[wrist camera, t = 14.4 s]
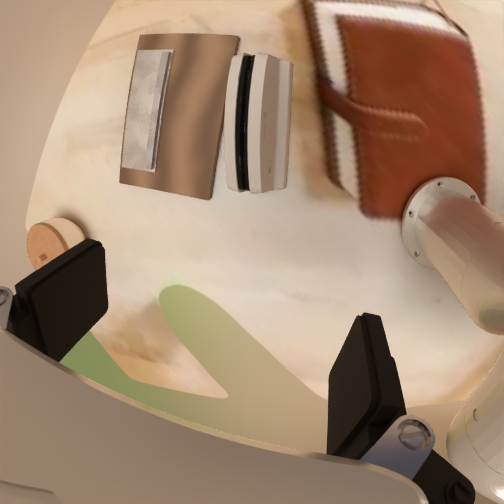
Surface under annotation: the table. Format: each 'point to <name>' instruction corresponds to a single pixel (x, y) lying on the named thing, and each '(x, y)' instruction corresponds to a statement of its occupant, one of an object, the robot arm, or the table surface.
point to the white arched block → (257, 123)
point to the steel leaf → (146, 109)
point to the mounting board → (188, 113)
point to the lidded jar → (51, 240)
